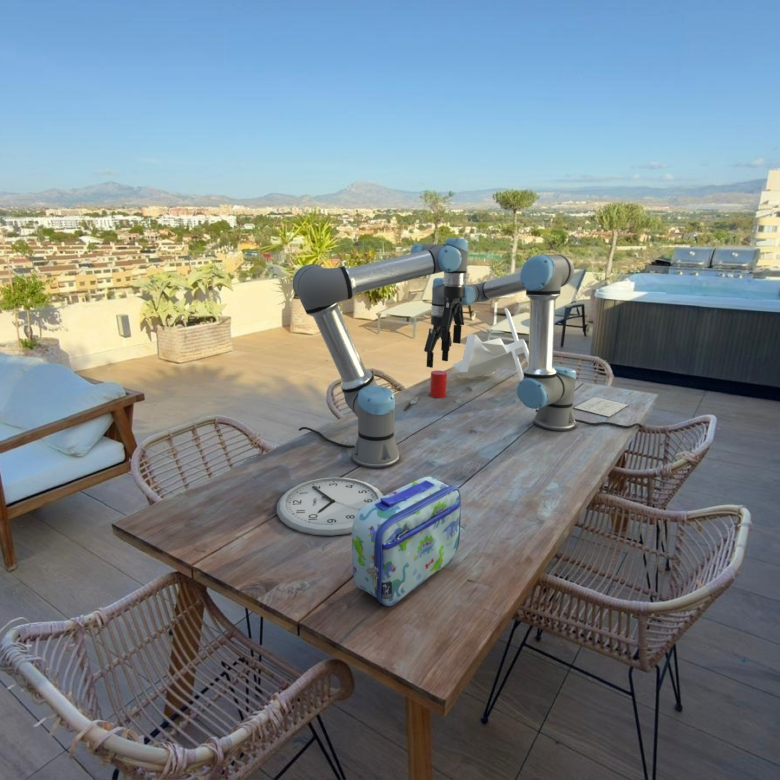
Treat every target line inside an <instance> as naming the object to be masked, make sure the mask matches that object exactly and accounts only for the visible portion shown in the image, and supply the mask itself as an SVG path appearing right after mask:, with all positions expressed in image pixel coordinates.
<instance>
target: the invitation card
mask: <svg viewBox="0 0 780 780" xmlns="http://www.w3.org/2000/svg"><path fill="white" fill-rule="evenodd" d="M628 406H629V404H627V403H623V402H618V401H614V400H609V399H605V398H601V397H596V396H593V397H592V398H590V399H588V400H586V401H584V402H582V403H580V404H578V405H575V406H574V407H573V409H575V410H581V411H584V412H587V413H593V414H596V415H600V416H604V417H608V418H609V417H611V416H613V415H614V414H616V413H617V412H619V411H621V410H623V409H624V408H626V407H628Z"/></svg>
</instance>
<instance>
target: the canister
mask: <svg viewBox="0 0 780 780" xmlns="http://www.w3.org/2000/svg"><path fill="white" fill-rule="evenodd" d="M447 378H448V373H447V371H445V370H432V371H430V386H429V396H430V397H431V398H434V399H443V398H446V396H447V382H448V381H447Z"/></svg>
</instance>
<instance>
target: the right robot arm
mask: <svg viewBox="0 0 780 780" xmlns="http://www.w3.org/2000/svg"><path fill="white" fill-rule="evenodd" d="M574 274H575V265H574V263H573V261H572V260H571V259H570V258H569V257H568V256H566V255H565V254H564V255H563V254H559V253H557V254H538V255H534V256H532V257H530V258H528V259H527V260H526V261H525V262H524V263H523V264H522V266H521V270H520V271H519V272H515V273H512V274H508V275H504V276H501V277H497V278H493V279H490V280H487V281H483V282H479V283H474V284H473V283H471V284H465V285H464V286H465V297H464V298H462V299H463V300H462V306H471V305H473V304H474V303H483V302H488V301H490V300H493V299H497V298H502V297H506V296H510V295H513V294H514V295H515V294H517V293H518V294H519V293H521V292H525V296H526V298H528V299H529V300H530V301H529V321H528V322H529V323H528V324H529V327H528V333H529V334H528V351H529V355H528V362H527V367H525V368H524V369H523V374H524V376H523V380H521V381H520V382H518V384H517V387H516V393H517V397H518V399H519V401H520V402H521V403H522V404H523V405H524V406H525V407H527V408H529V409H531V410H535V416H534V424H535V425H536V426H537V427H539V428H542V429H544V430H549V431H556V432H567V431H572V430H574V429H575V428H576V423H580V424H584V425H588V426H601V425H607V426H608V425H609V426H614V427H617V428H621V429H632V428H634V427H639V428H642V429H643V428H644V426H643V424H641V423H639V422H635V423H633V424H630V425H624V424H618V423H614V422H610V421H599V422H590V421H587V420H582V419H576V418H575V417H576V416H575V413H574V407H573V405H574V398H575V391H576V383H577V372H576V370H575V369H573V368H571V367H566V366H561V365H554V344H555V343H554V342H555V325H556V324H555V323H556V322H555V320H556V300H557V298H559V297H560V296H561V288H562V287H565V286H566V285H568V284H569V283H570V282H571V281H572V280H573V277H574ZM443 282H444V277H435V278H434V279H433V280H432V287H431V306H430V308H431V312H430V314H431V316H430V324H431V325H432V326H433V328H428V334H427V338H426V341H425V345H424V348H423V352H425V353H426V365H425V367H427V368H430V369H432V368H434V349H435V347H436V344H437V342H438V340H439V339H441V341H442V332H441V331H439V329H440V326H441V321H442V316H443V311H444V302H448V298H447V297H444V296H443V287H444V286H445V284H443ZM449 332H450V333H451V330H450V331H449ZM452 344H453V340H452V335H450V348H451V347H452ZM449 352H450V350H449V351H443V350H441V361H442V362H449Z"/></svg>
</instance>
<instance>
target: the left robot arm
mask: <svg viewBox="0 0 780 780" xmlns="http://www.w3.org/2000/svg"><path fill="white" fill-rule="evenodd" d="M468 254H469V241H468V240H467V239H466V238H458V237H455V238H454V237H453V238H452V237H451V238H450V237H449V238H446V239H445V242H444V244H443V243H442V244H433V243H432V244H431V243H420V244H417V243H415V244H413V245H412V246H411V248H410V251H409V253H408V254H404V255H400V256H395V257H391V258H387V259H383V260H378V261H374V262H371V263H366V264H362V265H358V266H354V267H349V268H348V267H347V266H345V265H341V266H337V267H323V266H321V265H319V264H315V263H311V264H310V263H309V264H305V265H302V266H301V267H299V268H298V269H297V270H296V271H295V273H294V275H293V277H292V278H293V279H292V288H293V293H295V295H296V296H297V297H298V299H299V301H300V303H301V305H302V307H303V309H304V311H305V313H306V315H307V316H311V317H312V318H313V320H314V322H315V324H316V327H317V328H318V331H319V333H320V335H321V337H322V339H323V341H324V344H325V345H326V348H327V350H328V352H329V354H330V356H331V358H332V361H333V362H334V363H333V364H334V365H335V367H336V369H337V371H338V374H339V376H340V378H341V382H340V389H341V391H342V393H343V396H344V401H345V403H346V405H347V407H348V408H349V409H350V410H351V411H352V412H353V413H354V415H355V416H356V417H357V439H356V442H355V445H353V444H352V445H349V444H345V443H339V442H337V441H334V440H331V439H329V438H327V437H326V436H325V435H324V434H323V433H321V432H320V431H318V430H315V429H314V428H311V427H308V426H301V427H299V428H298V431H299V432H300V431H302V430H307V431H309V432H312V433H315V434H316V435H318V436H320V438H322V439H323V440H324V441H326V442H328V443H331V444H333V445H335V446H339V447H343V448H347V449H353V451H352V461H353V462H354V463H355V464H356V465H358V466H361V467H364V468H369V469H383V468H389V467H391V466H394V465H396V464H398V462H399V460H400V452H399V447H398V445H397V442H396V439H395V413H396V411H395V408H396V400H395V393H394V392H393V390H392V389H390V388H388V387H386V386H385V387H384V386H382V385H378V384H377V381H376V379H375V377H374V374H373V373H372V371H370V370H368V369H366V367H365V365H364V363H363V361H362V358H361V355H360V354H359V352H358V349H357V347H356V344H355V342H354V340H353V338H352V335H351V333H350V331H349V328H348V326H347V323H346V321H345V319H344V317H343V314H342V311H341V310H340V308H339V304H340V302H344V301H347V300H351V299H353V298H354V297H355V295H357V294H361V293H364V292H369V291H373V290H376V289H379V288H384V287H388V286H392V285H396V284H399V283H403V282H407V281H411V280H416V279H419V278H423V277H427V276H432V275H435V274H439V273H443V278H444V282H443V284H445V286H444V287H443V296H444V297H447V298H448V302H444V311H443V316H442V321H441V326H440V329H439V331H441V332H442V340H441V343H440V344H441V347H440V351H442V350H443V351H449V352H450V348H451V347H450V336H451V326H452V323H454V324H453V333H452V344H461V342H462V327H463V326H464V325H465V322H464V321H465V320H464V307H463V306H464V305H462V300H463V299H462V298H464V297H465V286H464V285H467V279H468V275H467V270H468V269H467V268H468V256H469V255H468ZM453 321H454V322H453ZM449 331H450V332H449Z"/></svg>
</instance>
